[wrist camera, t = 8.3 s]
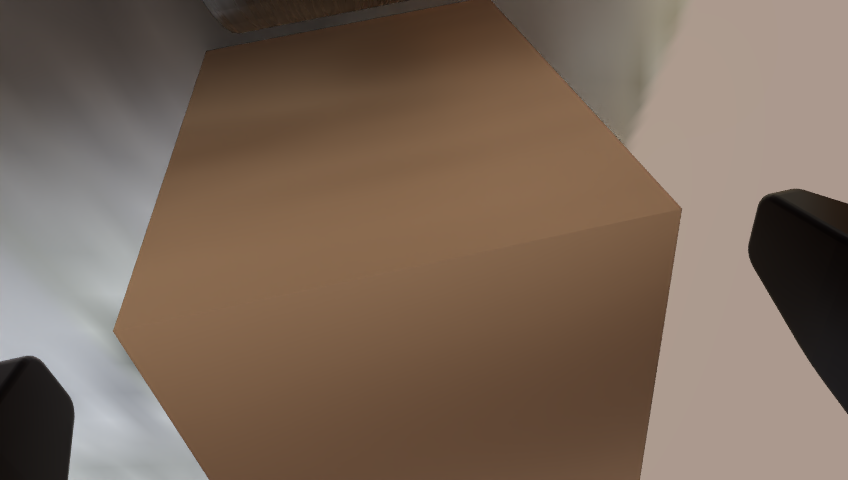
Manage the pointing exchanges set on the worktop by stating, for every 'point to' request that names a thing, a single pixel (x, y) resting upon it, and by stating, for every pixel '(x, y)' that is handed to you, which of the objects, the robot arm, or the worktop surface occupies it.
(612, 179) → the block
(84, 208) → the worktop surface
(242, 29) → the trolley
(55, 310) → the worktop surface
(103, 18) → the worktop surface
